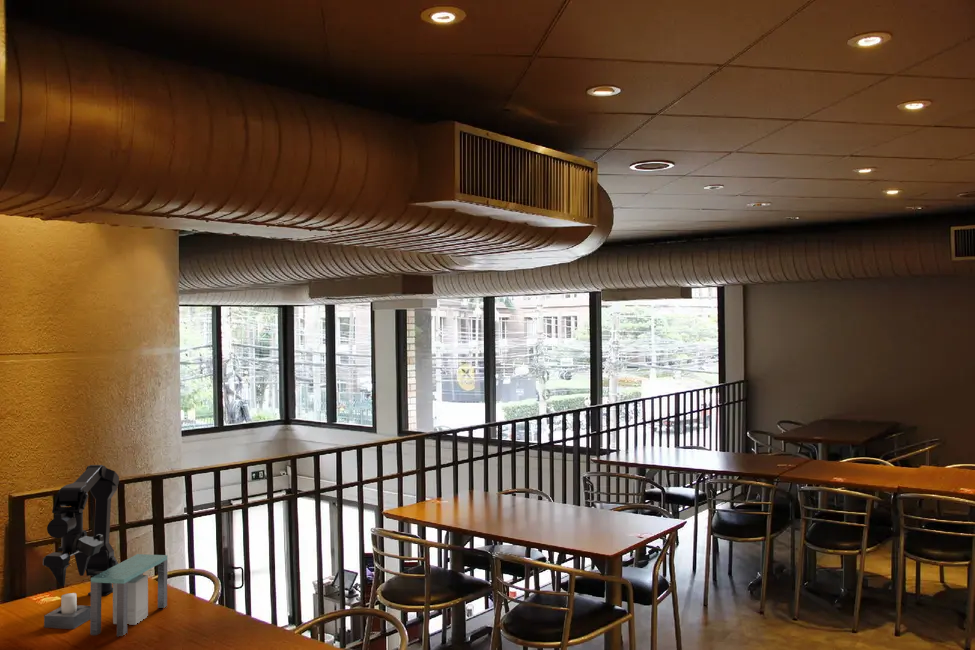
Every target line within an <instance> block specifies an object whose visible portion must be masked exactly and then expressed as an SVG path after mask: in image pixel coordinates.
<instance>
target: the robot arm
mask: <svg viewBox="0 0 975 650" xmlns="http://www.w3.org/2000/svg"><path fill="white" fill-rule="evenodd" d="M119 482H120V476H119V475H118V473H117V472H116V471H115V470H112V469H110V468H107V467H106V466H105V465H103V464H90V465H87V466H86V468H85V471H83V472H82V474H80V476H78V478H77V479H76V480H75V481H74V482H73V483H69V484H65V485H63V486H62V487H60V489H59V491H57V494H56V496H55V501H54V504H53V507H52V514H54V516H53V517H54V518H53V519H51V520H50V521H49V522H48V524H47V526H46V531H47V534H48V535H49V536H50V537H52V538H53V539H61V544H60V545H61V546H59V547H58V549H57V551H58V552H55V551H54V552H51V553H48V554H47V555H45V556H44V557H43V558H42V566H43V567H44V566H45V567H46V568H48V569H49V570H50V572H51V574H53V576H54V578H55V579H56V581H57V583H58V585H59V586H60V587H64V586H65V584H66V574H67V568H68V567H69V566H70V565H71V563H70V562H71V557H72V556H74V558H75V563H76V567H77V572H78V575H79V576H80V577H81V576H84V575H85V574H86V577H89V576H92V577H94V576H96V575H98V574H100V573H102V572H104V571H105V570H107V569H109V568H111V567H113V566H115V565H117V564H119V562H118V560H117V559H116V556H115V549H114V548H113V547H112V545H111V544H110V530H111V512H112V511H111V509H112V498H113V496H114V495H115V493H116V492H117V490H118V486H119V484H120V483H119ZM89 491H90V492H89ZM89 493H91V495H92V497H93V498H94V500H95V503H94V521H93V522H94V523H93V536H88V532H87V530H86V529H84V510H85V508H86V505H87V502H88V499H89ZM92 577H91V578H92ZM112 593H113V583H102V584H101V596H108V595H110V594H112ZM87 595H88V596H91V591H89V592H87Z"/></svg>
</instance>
